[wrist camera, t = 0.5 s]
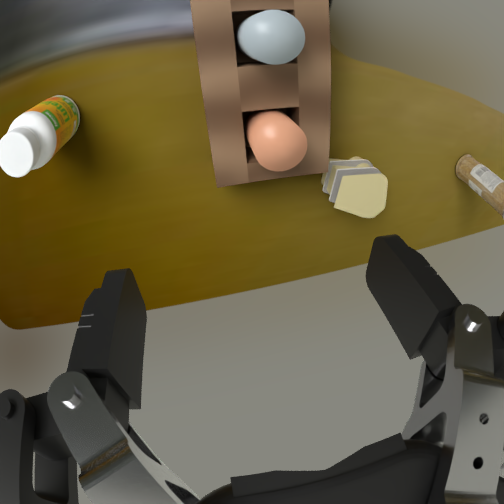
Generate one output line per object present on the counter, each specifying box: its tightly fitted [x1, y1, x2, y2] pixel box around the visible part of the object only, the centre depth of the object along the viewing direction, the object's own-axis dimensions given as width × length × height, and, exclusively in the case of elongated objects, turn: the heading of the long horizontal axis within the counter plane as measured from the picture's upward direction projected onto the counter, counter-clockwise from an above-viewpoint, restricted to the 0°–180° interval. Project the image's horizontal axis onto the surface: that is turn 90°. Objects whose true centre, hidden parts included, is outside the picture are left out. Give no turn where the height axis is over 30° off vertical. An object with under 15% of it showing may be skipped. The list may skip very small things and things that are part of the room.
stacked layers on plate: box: [321, 157, 388, 218], centre depth 32 cm, size 10×9×6 cm
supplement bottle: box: [0, 95, 80, 177], centre depth 19 cm, size 5×5×10 cm
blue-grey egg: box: [235, 10, 305, 65], centre depth 18 cm, size 4×4×5 cm
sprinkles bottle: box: [456, 154, 504, 218], centre depth 31 cm, size 5×5×13 cm
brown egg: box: [244, 108, 307, 172], centre depth 24 cm, size 4×4×5 cm
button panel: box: [190, 0, 331, 188], centre depth 20 cm, size 27×11×5 cm, turn 5°
